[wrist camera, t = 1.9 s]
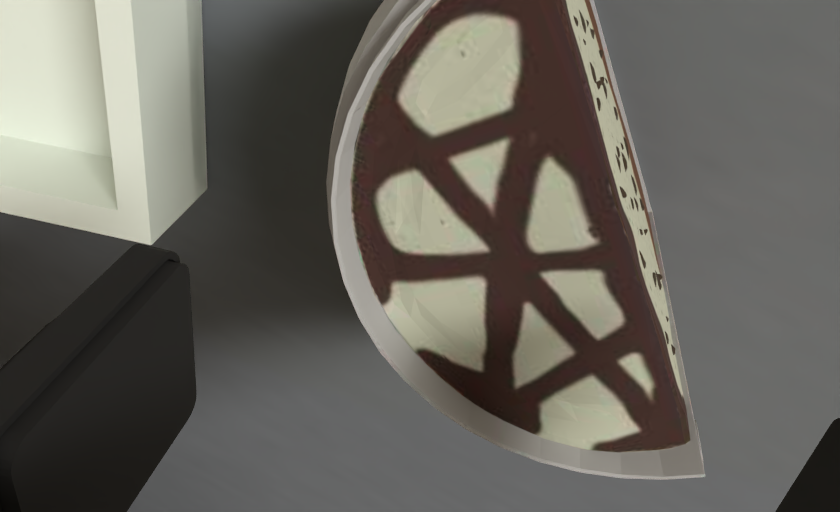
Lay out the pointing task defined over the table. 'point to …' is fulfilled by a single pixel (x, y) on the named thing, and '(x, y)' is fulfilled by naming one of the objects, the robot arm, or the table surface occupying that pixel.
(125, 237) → the tray
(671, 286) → the table surface
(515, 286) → the food container
